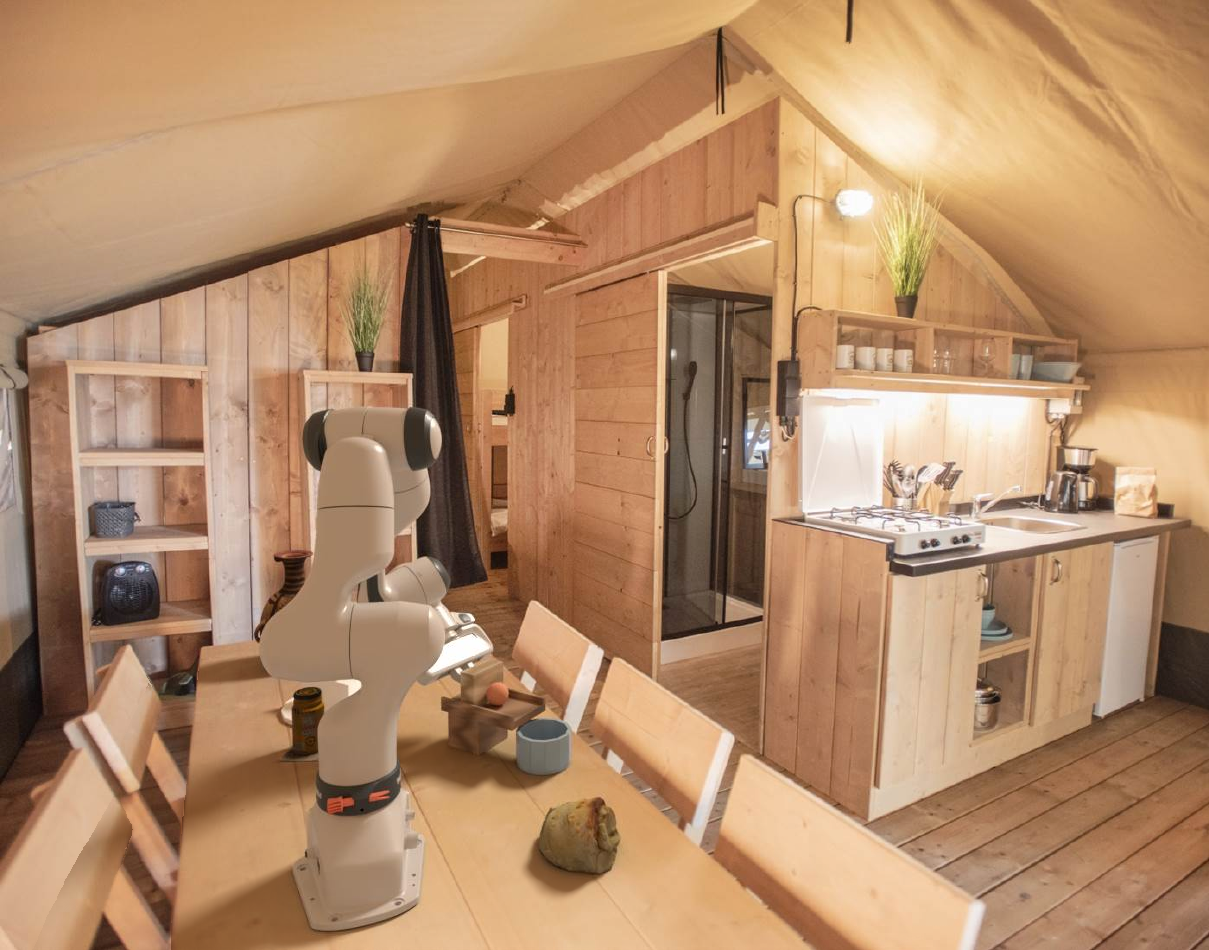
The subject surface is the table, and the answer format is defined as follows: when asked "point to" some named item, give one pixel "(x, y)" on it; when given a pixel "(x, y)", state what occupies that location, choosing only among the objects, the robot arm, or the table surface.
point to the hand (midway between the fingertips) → (472, 686)
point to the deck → (488, 720)
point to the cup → (543, 746)
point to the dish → (325, 694)
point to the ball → (497, 694)
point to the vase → (285, 585)
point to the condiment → (305, 724)
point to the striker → (480, 681)
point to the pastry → (580, 836)
